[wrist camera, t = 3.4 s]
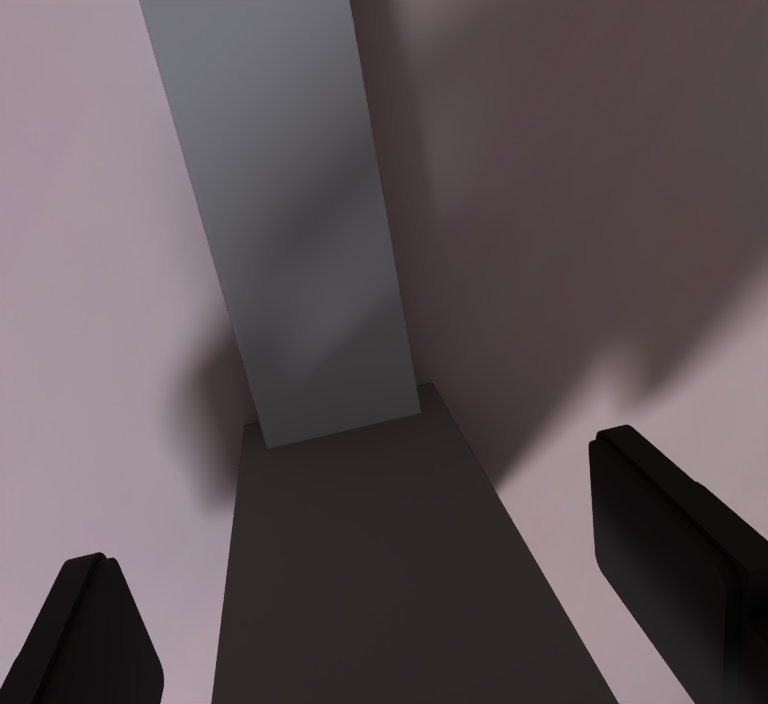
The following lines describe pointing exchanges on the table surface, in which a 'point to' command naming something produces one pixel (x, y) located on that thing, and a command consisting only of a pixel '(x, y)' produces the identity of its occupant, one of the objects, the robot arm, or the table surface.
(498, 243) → the table surface
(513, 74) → the table surface
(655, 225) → the table surface
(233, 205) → the blade tool
